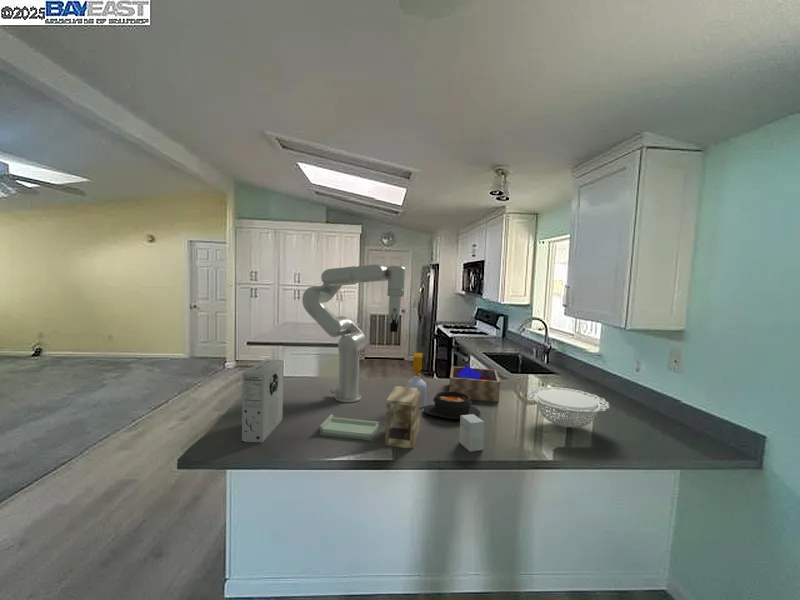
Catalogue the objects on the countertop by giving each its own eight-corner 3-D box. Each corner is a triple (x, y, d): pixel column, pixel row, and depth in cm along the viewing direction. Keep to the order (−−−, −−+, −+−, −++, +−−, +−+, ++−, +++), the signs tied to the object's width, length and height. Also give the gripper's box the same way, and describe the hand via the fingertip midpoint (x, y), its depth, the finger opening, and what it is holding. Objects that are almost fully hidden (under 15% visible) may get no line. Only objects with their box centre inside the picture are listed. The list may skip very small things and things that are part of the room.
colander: (574, 412, 183) (576, 385, 182) (626, 441, 152) (629, 409, 151) (511, 415, 176) (512, 387, 175) (552, 446, 145) (555, 413, 144)
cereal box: (264, 418, 160) (265, 358, 158) (282, 419, 160) (283, 359, 158) (241, 442, 139) (242, 372, 137) (262, 443, 139) (263, 373, 137)
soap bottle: (425, 402, 188) (428, 352, 186) (425, 409, 179) (427, 356, 177) (407, 401, 189) (409, 350, 187) (405, 407, 180) (407, 354, 178)
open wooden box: (449, 397, 197) (450, 377, 196) (450, 383, 221) (451, 366, 220) (498, 401, 193) (499, 382, 193) (495, 387, 217) (496, 369, 217)
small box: (483, 450, 140) (485, 421, 139) (469, 452, 138) (471, 423, 137) (472, 440, 147) (473, 413, 147) (458, 442, 145) (460, 414, 145)
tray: (319, 434, 147) (320, 425, 147) (330, 422, 159) (331, 414, 159) (371, 440, 144) (372, 431, 144) (378, 427, 156) (379, 419, 156)
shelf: (384, 445, 141) (386, 399, 139) (393, 426, 158) (395, 385, 156) (413, 448, 139) (415, 402, 138) (418, 429, 156) (420, 388, 155)
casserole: (475, 408, 183) (476, 390, 182) (484, 424, 165) (485, 404, 164) (421, 406, 182) (422, 389, 182) (425, 422, 164) (426, 402, 163)
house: (475, 385, 218) (477, 365, 217) (492, 397, 199) (493, 375, 198) (455, 386, 216) (456, 365, 215) (470, 398, 196) (471, 375, 195)
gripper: (388, 291, 188) (386, 326, 189) (386, 293, 170) (384, 332, 172) (404, 292, 188) (402, 327, 189) (403, 294, 170) (401, 333, 172)
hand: (393, 330), depth 180 cm, fingers open, 9 cm apart
